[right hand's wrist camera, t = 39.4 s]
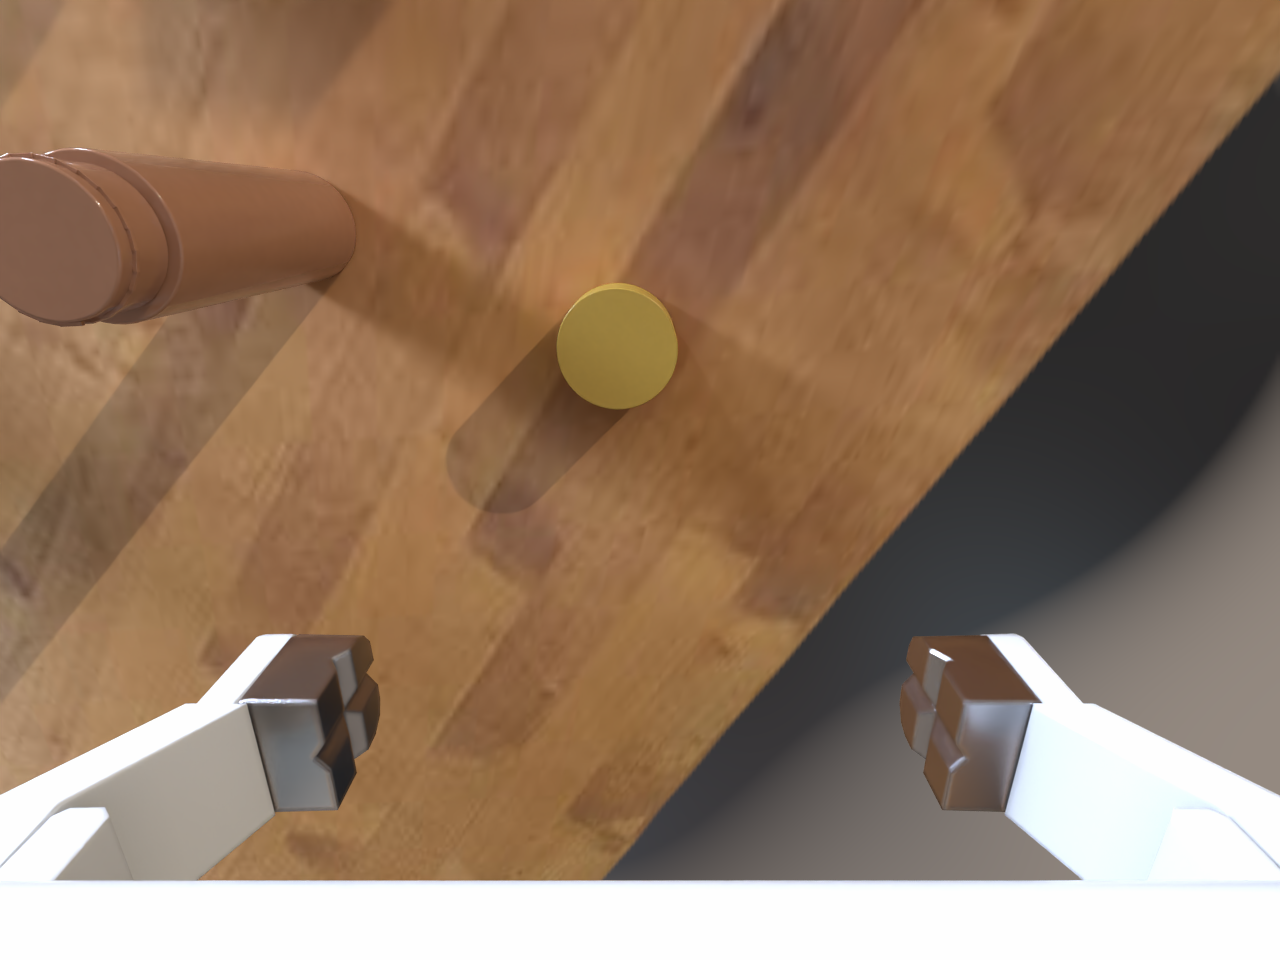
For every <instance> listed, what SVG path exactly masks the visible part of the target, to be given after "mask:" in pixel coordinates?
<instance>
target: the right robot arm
mask: <svg viewBox="0 0 1280 960" xmlns="http://www.w3.org/2000/svg"><path fill="white" fill-rule="evenodd" d="M373 660H374V659H373V654H372V650H371V645H370V641H369V640H368V639H367V638H366V637H365V636H358V635H310V634H299V635H296V634H265V635H262V636H259V637H257V638H256V639H255V640H254V641H253V642H252V643H251V644H250V645H249V646H248V648H247V649H246V650H245V651H244V652H243V653H242V654H241V655H240V656H239V657H238V659H237V660H236V661H235V662H234V663H233V664H232V665H231V666H230V667H229V669H228V670H227V671H226V672H225V673H224V674H223V675H222V676H221V677H220V679H219V680H218V681H217V682H216V683H215V684H214V685H213V686H212V687H211V689H210V690H209V691H208V692H207V693H206V694H205V695H204V696H203V697H202V698H201V700H200V701H199V702H198V703H197V704H184V705H182V706H180V707H178V708H176V709H174V710H172V711H170V712H168V713H166V714H164V715H162V716H160V717H158V718H156V719H154V720H152V721H150V722H148V723H146V724H144V725H142V726H140V727H138V728H136V729H134V730H132V731H130V732H127V733H125V734H123V735H121V736H119V737H117V738H115V739H113V740H111V741H109V742H107V743H105V744H103V745H101V746H99V747H97V748H95V749H93V750H91V751H89V752H87V753H85V754H83V755H81V756H79V757H77V758H75V759H73V760H71V761H69V762H67V763H65V764H63V765H61V766H59V767H57V768H55V769H53V770H51V771H49V772H47V773H44V774H42V775H40V776H38V777H36V778H34V779H32V780H30V781H28V782H26V783H24V784H22V785H20V786H18V787H16V788H14V789H12V790H10V791H8V792H6V793H4V794H2V795H0V960H1280V796H1279V795H1278V794H1275V793H1273V792H1271V791H1269V790H1267V789H1265V788H1263V787H1261V786H1259V785H1257V784H1255V783H1253V782H1251V781H1249V780H1247V779H1245V778H1243V777H1241V776H1239V775H1237V774H1235V773H1233V772H1231V771H1229V770H1227V769H1225V768H1223V767H1221V766H1219V765H1217V764H1215V763H1213V762H1211V761H1209V760H1207V759H1205V758H1203V757H1201V756H1199V755H1197V754H1195V753H1193V752H1191V751H1189V750H1187V749H1185V748H1183V747H1181V746H1179V745H1177V744H1175V743H1173V742H1171V741H1168V740H1166V739H1164V738H1162V737H1160V736H1158V735H1156V734H1154V733H1152V732H1150V731H1148V730H1146V729H1144V728H1142V727H1140V726H1138V725H1136V724H1134V723H1132V722H1130V721H1128V720H1126V719H1124V718H1122V717H1120V716H1118V715H1116V714H1114V713H1112V712H1110V711H1108V710H1106V709H1104V708H1102V707H1100V706H1098V705H1096V704H1083V703H1082V702H1081V701H1080V700H1079V699H1078V697H1077V696H1076V695H1075V694H1074V693H1073V692H1072V691H1071V690H1070V689H1069V687H1068V686H1067V685H1066V684H1065V683H1064V682H1063V681H1062V680H1061V679H1060V677H1059V676H1058V675H1057V674H1056V673H1055V672H1054V671H1053V670H1052V669H1051V667H1050V666H1049V665H1048V664H1047V663H1046V662H1045V661H1044V660H1043V659H1042V657H1041V656H1040V655H1039V654H1038V653H1037V652H1036V651H1035V650H1034V649H1033V647H1032V646H1031V645H1030V644H1029V643H1028V642H1027V641H1026V640H1025V639H1024V638H1023V637H1021V636H1019V635H1017V634H990V635H978V636H918V637H913V639H912V641H911V643H910V645H909V648H908V654H907V659H906V660H907V662H908V664H909V665H910V667H911V669H912V671H913V672H914V673H913V674H912V675H911V676H910V677H909V678H908V679H907V680H906V681H905V682H904V683H903V684H902V689H901V697H900V714H901V723H902V727H903V730H904V734H905V737H906V739H907V741H908V743H909V745H910V747H911V749H912V750H913V751H915V752H916V753H918V754H919V755H920V756H922V757H923V758H925V759H926V761H925V767H924V772H923V773H924V775H925V777H926V779H927V781H928V783H929V785H930V787H931V789H932V791H933V793H934V795H935V796H936V799H937V800H938V802H939V804H940V806H941V808H942V810H958V811H992V812H1005V815H1006V816H1007V817H1008V818H1009V819H1010V820H1012V821H1013V822H1014V823H1015V824H1016V825H1017V826H1019V827H1020V828H1021V829H1022V830H1023V831H1025V832H1026V833H1027V834H1028V835H1029V836H1031V837H1032V838H1033V839H1034V840H1035V841H1037V842H1038V843H1039V844H1040V845H1041V846H1043V847H1044V848H1045V849H1046V850H1047V851H1049V852H1050V853H1051V854H1052V855H1054V856H1055V857H1056V858H1057V859H1058V860H1059V861H1061V862H1062V863H1063V864H1064V865H1065V866H1067V867H1068V868H1069V869H1070V870H1071V871H1073V872H1074V873H1075V874H1076V875H1077V876H1079V877H1080V878H1081V879H1082V880H1061V881H857V880H853V881H852V880H851V881H850V880H847V881H845V880H841V881H840V880H837V881H836V880H683V881H681V880H679V881H678V880H677V881H676V880H673V881H672V880H671V881H669V880H668V881H197V880H198V879H199V878H200V877H202V876H203V875H204V874H205V873H206V872H208V871H209V870H210V869H211V868H212V867H214V866H215V865H216V864H217V863H218V862H220V861H221V860H222V859H223V858H224V857H226V856H227V855H228V854H229V853H230V852H232V851H233V850H234V849H235V848H236V847H238V846H239V845H240V844H241V843H242V842H244V841H245V840H246V839H247V838H248V837H250V836H251V835H252V834H253V833H254V832H256V831H257V830H258V829H259V828H260V827H262V826H263V825H264V824H265V823H266V822H268V821H269V820H270V819H271V818H272V817H274V816H275V812H287V811H322V810H338V808H339V806H340V805H341V803H342V801H343V799H344V797H345V795H346V793H347V791H348V789H349V787H350V785H351V783H352V781H353V779H354V777H355V775H356V773H357V772H356V766H355V761H354V759H355V758H357V757H358V756H360V755H361V754H362V753H364V752H365V751H367V750H368V749H369V747H370V745H371V743H372V741H373V739H374V736H375V734H376V730H377V725H378V721H379V716H380V695H379V689H378V684H377V683H376V682H375V681H374V680H373V679H372V678H371V677H370V676H369V675H368V674H367V673H366V672H367V671H368V669H369V667H370V665H371V664H372V662H373Z"/></svg>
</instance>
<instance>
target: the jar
mask: <svg viewBox="0 0 1280 960" xmlns="http://www.w3.org/2000/svg"><path fill="white" fill-rule="evenodd" d="M355 242H356V229H355V223H354V219H353V216H352V213H351V210H350V208H349V206H348V204H347V203H346V201H345V200H344V198H343V197H342V196H341V194H340V193H339V192H338V191H337V190H336V189H335V188H334V187H333V186H332V185H331V184H329V183H328V182H327V181H325V180H324V179H322V178H320V177H318V176H316V175H314V174H311V173H308V172H304V171H297V170H288V169H278V168H269V167H259V166H250V165H240V164H231V163H221V162H212V161H202V160H193V159H183V158H174V157H164V156H155V155H145V154H136V153H126V152H117V151H107V150H98V149H88V148H62V149H57V150H54V151H50V152H48V153H46V154H36V153H15V154H6V155H3V156H1V157H0V298H1V299H2V300H3V301H5V302H6V303H8V304H9V305H11V306H12V307H14V308H15V309H16V310H18V312H20V313H22V314H24V315H27V316H29V317H31V318H33V319H36V320H38V321H39V322H42V323H47V324H52V325H57V326H60V327H65V326H83V325H85V324H90V323H96V322H99V321H101V322H105V323H111V324H133V323H138V322H143V321H147V320H151V319H156V318H160V317H164V316H169V315H173V314H177V313H182V312H186V311H190V310H195V309H199V308H203V307H208V306H212V305H216V304H221V303H225V302H229V301H234V300H238V299H242V298H247V297H251V296H255V295H260V294H264V293H269V292H273V291H277V290H282V289H286V288H290V287H295V286H299V285H303V284H308V283H312V282H316V281H321V280H324V279H328V278H330V277H333V276H334V275H336V274H338V273H339V272H340V271H341V270H342V269H343V268H344V267H345V266H346V265H347V264H348V262H349V260H350V259H351V257H352V254H353V252H354V248H355Z"/></svg>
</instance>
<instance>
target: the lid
mask: <svg viewBox="0 0 1280 960" xmlns="http://www.w3.org/2000/svg"><path fill="white" fill-rule="evenodd" d="M556 350H557V359H558V364H559V367H560V370H561V372H562V374H563V376H564V378H565V380H566V381H567V383H568V384H569V386H570V387H571V388H572V389H573V390H574V391H575V392H576V393H577V394H578V395H579V396H580V397H582V398H583V399H585V400H586V401H588V402H590V403H592V404H594V405H597V406H599V407H603V408H607V409H628V408H633V407H636V406H639V405H642V404H644V403H646V402H648V401H649V400H651V399H652V398H654V397H655V396H656V395H658V394H659V393H660V392H661V391H662V390H663V389H664V387H665V386H666V385H667V383H668V382H669V380H670V378H671V376H672V374H673V372H674V369H675V366H676V362H677V355H678V343H677V337H676V333H675V329H674V326H673V322H672V320H671V317H670V315H669V313H668V312H667V310H666V308H665V307H664V306H663V304H662V303H661V302H660V301H659V300H658V299H657V298H656V297H655V296H653V295H652V294H651V293H649V292H648V291H646V290H644V289H642V288H640V287H637V286H634V285H630V284H624V283H611V284H605V285H602V286H599V287H596V288H594V289H592V290H590V291H588V292H587V293H585V294H584V295H583V296H581V297H580V298H579V299H578V300H577V301H576V302H575V303H574V305H573V306H572V307H571V309H570V310H569V312H568V313H567V315H566V316H565V318H564V320H563V322H562V324H561V326H560V329H559V332H558V337H557V346H556Z"/></svg>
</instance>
